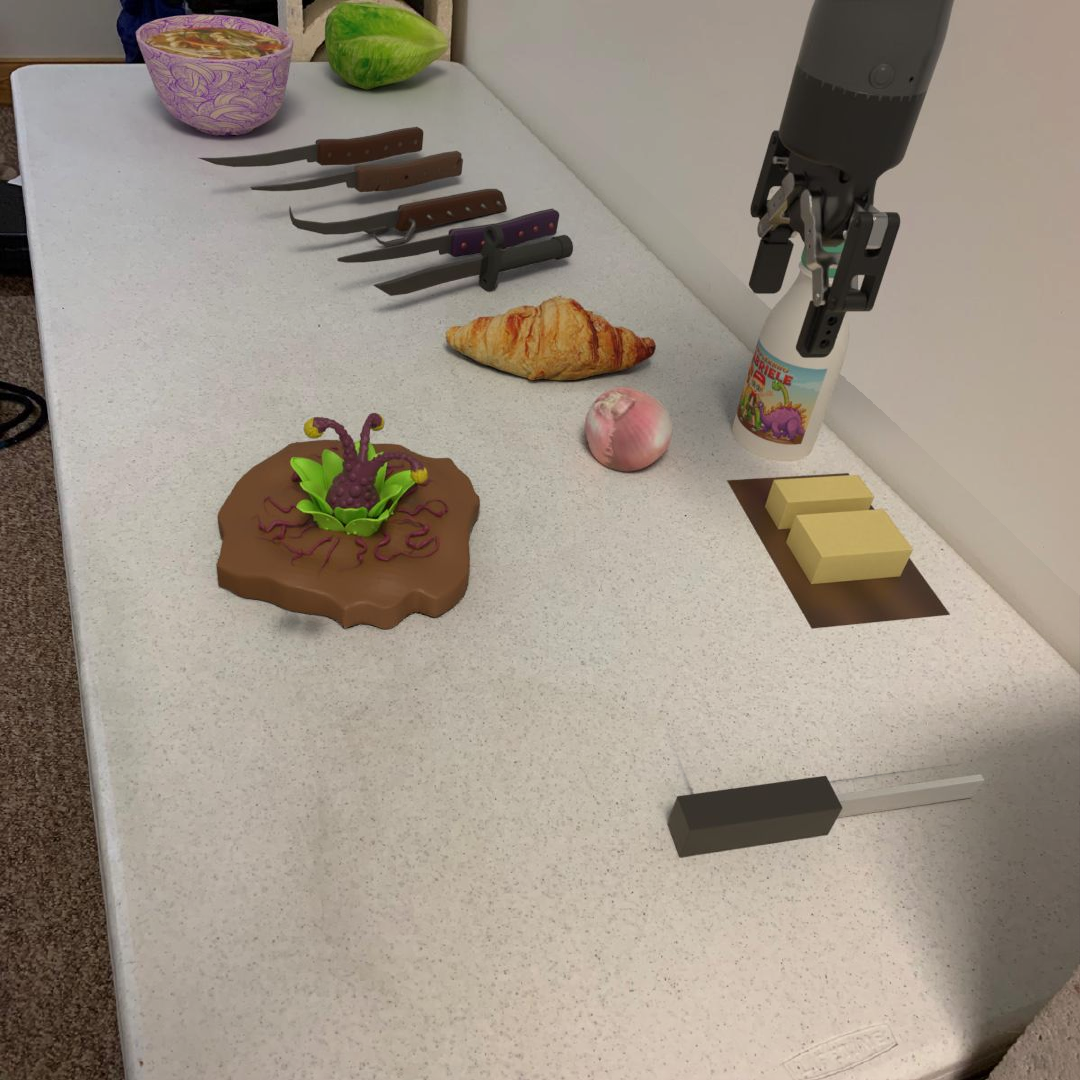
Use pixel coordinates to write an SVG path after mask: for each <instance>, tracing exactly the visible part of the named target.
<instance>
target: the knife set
mask: <svg viewBox="0 0 1080 1080" xmlns="http://www.w3.org/2000/svg"><path fill="white" fill-rule="evenodd" d="M424 133H425V132H424V130H423V129H422V128H421V127H418V126H412V127H405V128H399V129H394V130H389V131H385V132H380V133H376V134H370V135H365V136H358V137H351V138H319V139H316V140H315V142H314V143H313V144H309V145H304V146H299V147H293V148H288V149H283V150H276V151H272V152H266V153H258V154H250V155H249V154H248V155H239V156H224V157H198V159H200V160H202V161H205V162H208V163H211V164H213V165H217V166H225V167H232V168H247V167H248V168H251V167H255V168H256V167H271V166H272V167H273V166H277V165H278V166H279V165H285V164H290V163H296V162H299V161H300V162H301V161H305V160H306V162H307V163H308V164H310V163H317V164H318V165H320V166H324V167H325V166H352V165H355V166H354V168H353V170H350V171H345V172H342V173H336V174H331V175H325V176H321V177H316V178H312V179H307V180H301V181H296V182H295V181H294V182H289V183H278V184H269V185H256V186H250V190H251V191H262V192H295V191H308V190H313V189H319V188H325V187H329V186H334V185H338V184H343V183H345V184H346V188H348V189H355V190H356V191H357V192H359V193H372V192H391V191H392V192H393V191H397V190H402V189H407V188H412V187H416V186H420V185H424V184H428V183H431V182H434V181H439V180H445V179H448V178H455V177H459V176H462V174H463V164H464V159H463V158H462V153H461V152H460V151H458V150H452V151H446V152H445V151H444V152H440V153H436V154H431V155H427V156H423V157H419V158H415V159H411V160H405V161H401V162H394V163H389V164H364V163H369V162H375V161H380V160H384V159H387V158H391V157H396V156H400V155H404V154H406V155H407V154H411V153H419V152H421V151H422V150H423V144H424ZM357 164H358V165H357ZM360 164H361V165H360ZM507 209H508V206H507V204H506V199H505V196H504V193H503V192H502V191H501V190H500V189H498V188H483V189H477V190H474V191H473V190H471V191H467V192H466V191H465V192H460V193H457V194H451V195H446V196H440V197H435V198H429V199H423V200H419V201H418V200H417V201H414V202H408V203H403V204H400V205H398V206H397V209H395V210H390V211H385V212H381V213H376V214H373V215H369V216H368V215H367V216H364V217H359V218H358V217H357V218H353V219H347V220H341V221H330V222H329V221H328V222H320V221H312V220H304V219H299V218H295V216H294V214H293V212H292V207H291V206H289V208H288V213H289V218H290V221H291V224H292V225H293V226H294V227H295V228H297V229H299V230H303V231H308V232H312V233H317V234H320V235H324V236H326V235H349V234H350V235H351V234H355V233H362V232H364V233H365V234H368V235H373V237H374V239H375V241H376V242H378V244H380V245H382V246H384V247H382V248H376V249H373V250H367V251H363V252H359V253H354V254H349V255H344V256H340V257H338V258H337V259H336V261H337V262H340V263H346V264H350V263H351V264H352V263H354V264H355V263H358V264H359V263H371V262H381V261H388V260H394V259H395V260H396V259H402V258H407V257H408V258H409V257H413V256H419V255H424V254H428V253H429V254H430V253H433V252H438V255H440V256H443V255H447V254H448V255H450V256H451V257H453V258H460V257H468V256H473V255H478V256H474V257H469V258H465V259H461V260H456V261H452V262H447V263H442V264H438V265H433V266H430V267H426V268H422V269H420V270H417V271H414V272H411V273H408V274H405V275H401V276H398V277H395V278H392V279H390V280H389V279H388V280H385V281H382V282H379V283H378V282H377V283H375V284H374V283H373V284H372V286H374V287H375V288H376V289H378V290H380V291H381V292H383V293H384V294H386V295H388V296H390V297H393V296H402V295H409V294H412V293H416V292H419V291H422V290H425V289H428V288H432V287H436V286H439V285H442V284H447V283H451V282H455V281H459V280H462V279H466V278H471V277H475V276H478V285H479V286H480V287H481V288H483V289H484V290H486V291H487V292H491V291H494V290H496V287H497V283H498V280H499V276H500V273H504V272H507V271H511V270H515V269H521V268H524V267H528V266H531V265H532V266H533V265H535V264H540V263H545V262H548V261H552V260H555V261H559V260H563V259H567V258H570V257H571V256H572V255H573V253H574V244H573V241H572V239H571V237H569V236H568V235H567V234H562V235H557V236H555V235H556V233H557V230H558V225H559V222H560V221H559V220H560V212H559V211H557V210H556V209H554V208H553V207H552V208H548V209H547V208H546V209H542V210H538V211H534V212H531V213H526V214H524V215H520V216H517V217H514V218H511V219H507V220H503V221H499V222H496V223H495V222H494V223H488V224H482V225H481V224H480V225H474V226H468V227H457V228H451V229H449V231H448V234H443V235H440V236H436V237H431V238H426V239H422V240H421V239H420V240H416V241H412V242H408V241H409V240H410V239H411V236H413V233H414V232H415V230H419V229H424V228H428V227H429V228H430V227H433V226H434V227H435V226H439V225H444V224H449V223H453V222H457V221H462V220H468V219H472V218H477V217H483V216H487V215H493V214H497V213H501V212H505V211H507ZM392 229H394V230H396V231H397V232H400V233H401V232H402V233H403V232H406V233H405V235H404V236H403V237H401V238H395V239H391V240H387V241H384V240H380V238H378V237H377V236H376V234H378V233H379V234H380V233H384V232H388V231H390V230H392ZM550 236H553V237H550ZM545 237H550V239H546V240H541V241H537V242H532V243H528V242H531V241H534V240H535V241H536V240H538V239H542V238H545ZM401 243H402V244H401ZM525 243H528V244H525ZM522 244H524V245H522Z"/></svg>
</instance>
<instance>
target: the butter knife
mask: <svg viewBox="0 0 1080 1080" xmlns="http://www.w3.org/2000/svg"><path fill="white" fill-rule="evenodd" d="M984 782H985V778H984V777H983V775H982V774H981V773H978V774H971V775H964V776H957V777H950V778H944V779H943V778H942V779H936V780H929V781H922V782H914V783H909V784H900V785H893V786H887V787H881V788H880V787H879V788H874V789H866V790H859V791H852V792H846V793H838V794H836V792H835V790H834V788H833V786H832V784H831V782H830V780H829V778H828V776H827V775H820V776H814V777H806V778H799V779H798V778H797V779H790V780H786V781H785V780H784V781H777V782H771V783H762V784H756V785H755V784H754V785H749V786H741V787H740V786H739V787H733V788H726V789H720V790H718V789H717V790H711V791H705V792H704V791H703V792H698V793H691V794H684V795H677V796H676V799H675V801H674V804H673V806H672V810H671V812H670V816H669V818H668V821H667V825H668V829H669V832H670V834H671V836H672V840H673V843H674V846H675V848H676V850H677V854H678V856H679V858H686V857H692V856H699V855H705V854H712V853H719V852H725V851H732V850H739V849H744V848H750V847H756V846H757V847H758V846H765V845H769V844H777V843H783V842H789V841H797V840H802V839H803V840H804V839H809V838H815V837H822V836H828V835H829V834H830V832H831V831H832V828H833V827H834V825H835V823H836V821H837V819H838V818H845V817H851V816H858V815H864V814H871V813H877V812H884V811H891V810H897V809H898V810H899V809H904V808H911V807H918V806H925V805H931V804H937V803H945V802H951V801H959V800H963V799H964V800H965V799H970V798H974V797H975V795H976V793H977V792H978V790H979V789H980V788H981V786H982V785H983V783H984Z"/></svg>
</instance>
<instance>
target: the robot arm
mask: <svg viewBox="0 0 1080 1080" xmlns="http://www.w3.org/2000/svg"><path fill="white" fill-rule="evenodd" d="M954 3H955V0H814V1H813V4H812V6H811V9H810V12H809V16H808V19H807V21H806V26H805V30H804V33H803V37H802V41H801V44H800V48H799V51H798V56H797V60H796V63H795V67H794V71H793V74H792V77H791V78H792V79H791V82H790V85H789V90H788V93H787V97H786V101H785V105H784V108H783V111H782V117H781V120H780V125H779V128H778V130H777V129H775V130H773V131H772V132H771V134H770V137H769V141H768V143H767V144H768V145H767V148H766V151H765V155H764V159H763V161H762V165H761V169H760V172H759V175H758V179H757V182H756V186H755V190H754V192H753V197H752V200H751V204H750V209H749V211H750V212H749V213H750V216H751V217H752V218H758V220H759V221H758V224H757V229H756V230H757V231H756V232H757V236H758V237H759V238H760V240H759V244H758V247H757V251H756V256H755V258H754V259H755V260H754V263H753V267H752V270H751V274H750V277H749V281H748V287H749V288H750V290H751V291H752V292H753V293H754V294H758V295H759V294H761V295H763V294H764V295H767V294H768V295H772V294H774V295H775V294H778V292H780V291H781V289H782V286H783V283H784V280H785V277H786V274H787V269H788V266H789V263H790V259H791V256H792V253H793V249H794V245H795V244H794V242H793V241H791V239H795V238H796V237H797V236H798V235H799V236H800V238H801V240H802V242H803V243H804V246H803V249H804V248H805V265H806V266H807V267H808V268H809V269H811V271H812V299H813V300H810V303H809V306H808V310H807V313H806V316H805V319H804V322H803V325H802V328H801V332H800V335H799V338H798V341H797V344H796V350H797V352H798V353H799V354H800V356H801V357H803V358H823V357H826V356H828V355H829V354H830V353H831V351H832V349H833V348H834V345H835V342H836V341H835V340H836V339H837V336H838V335H837V334H838V333H839V330H840V327H841V325H842V322H843V319H844V316H845V314H846V312H849V313H850V312H851V313H854V312H855V313H856V312H871V311H872V310H873V308H874V306H875V303H876V300H877V298H878V294H879V291H880V288H881V285H882V282H883V279H884V275H885V272H886V269H887V266H888V264H889V260H890V257H891V254H892V251H893V249H894V244H895V241H896V239H897V236H898V232H899V231H900V226H901V216H900V214H899V213H898V212H897V211H896V212H895V211H880V210H879V209H877V207H875V206H874V202H875V193H876V192H875V191H876V187H877V181H878V180H879V178H880V177H882V175H883V174H885V173H886V172H888V171H889V170H892V169H894V168H896V167H897V166H898V165H900V164H901V162H902V161H903V160H904V158H905V156H906V153H907V150H908V147H909V144H910V141H911V139H912V136H913V133H914V130H915V128H916V125H917V121H918V119H919V116H920V113H921V110H922V108H923V105H924V101H925V100H926V96H927V94H928V90H929V87H930V84H931V82H932V78H933V76H934V73H935V70H936V68H937V65H938V61H939V59H940V56H941V54H942V50H943V47H944V44H945V41H946V38H947V34H948V29H949V26H950V25H949V24H950V20H951V16H952V15H951V14H952V12H953V11H952V10H953V7H954ZM774 187H779V188H778V189H777V190H776V192H775V193H774V194H773V195H772V197H771V198H769V195H770V191H771V190H772V188H774ZM844 241H845V242H844ZM843 242H844V245H843V249H842V252H841V253H837V252H826V251H825V250H824V249H823V247H837V246H839V245H841V244H842V243H843ZM829 268H837V269H836V273H835V276H834V279H833V283H832V286H829ZM859 276H863V279H862V282H861V286H860V288H859Z"/></svg>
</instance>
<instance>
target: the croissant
mask: <svg viewBox="0 0 1080 1080" xmlns="http://www.w3.org/2000/svg"><path fill="white" fill-rule="evenodd" d="M444 334H445V342H446V343H447V344H448V345H449V346H450V347H451V348H452V349H453V350H455V351H457V352H459V354H462V355H463V356H467V357H469V358H471V360H473V361H475V362H477V363H480V364H482V365H485V366H490V367H493V368H495V369H497V370H499V371H501V372H506V373H510V374H512V375H515V376H518V377H522V378H525V379H528V380H529V381H535V380H536V381H537V380H542V379H543V380H549V381H571V380H573V381H575V380H582V379H586V378H589V377H592V376H598V375H603V374H611V373H615V372H619V371H623V370H628V369H631V368H634V367H635V366H637V365H639V364H641V363H643V362H645V361H646V360H648V359H650V358H652V356H653V355H654V354H655V352H656V350H657V345H656V342H655V340H654V339H653V338H651V337H649V336H645V337H641V336H638V335H637V334H635V332H634V331H632V330H631V329H629V328H626V327H624V326H614V325H612V324H611V323H609V321H608V320H607V319H605V318H604V317H603V316H601V315H599V314H596V313H594V311H593V310H586V309H585V308H584V306H582V305H581V304H580V302H579V301H577V300H576V299H574V298H568V297H563V296H561V295H559V296H558V295H557V296H553V297H551V298H548V299H545V300H543V301H542V302H541V303H540V304H539V305H537V306H534V305H522V306H517V307H513V308H509V310H507V311H506V312H505V313H503V314H497V315H495V316H494V315H493V316H479V317H478V318H475V319H473V320H471V321H469V322H467V323H466V324H465V325H464V326H463V325H462V326H461V325H455V326H450V327H448V329H447V330H446V331H445V333H444Z"/></svg>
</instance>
